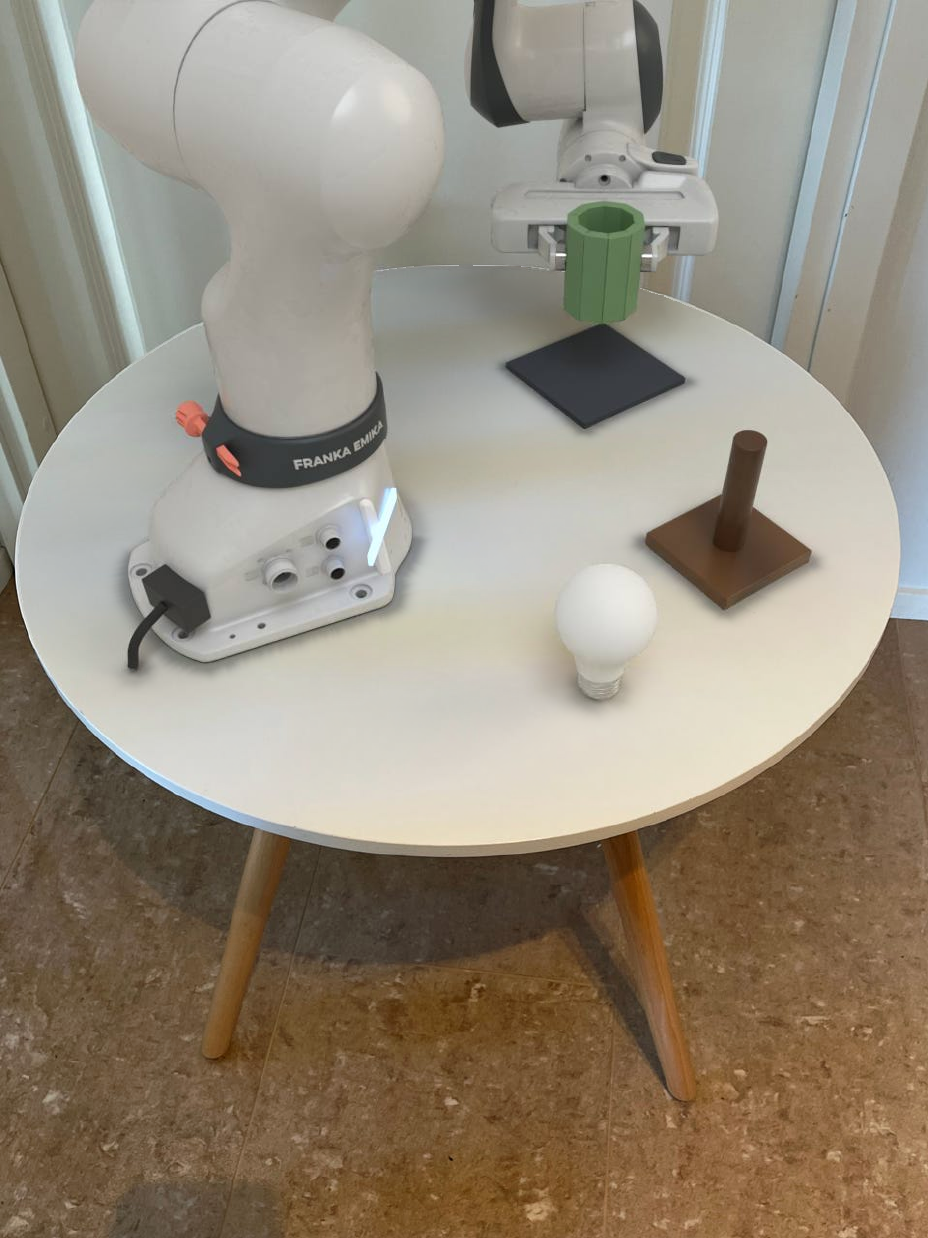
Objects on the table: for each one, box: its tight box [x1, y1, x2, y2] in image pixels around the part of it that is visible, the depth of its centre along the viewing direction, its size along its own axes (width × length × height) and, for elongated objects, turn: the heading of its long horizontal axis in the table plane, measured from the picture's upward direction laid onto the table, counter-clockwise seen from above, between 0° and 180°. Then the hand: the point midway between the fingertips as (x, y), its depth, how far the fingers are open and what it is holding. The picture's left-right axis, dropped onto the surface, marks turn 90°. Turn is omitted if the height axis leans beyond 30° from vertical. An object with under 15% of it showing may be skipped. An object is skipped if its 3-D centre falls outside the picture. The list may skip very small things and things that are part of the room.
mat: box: [505, 323, 686, 429], centre depth 100 cm, size 12×12×1 cm
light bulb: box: [553, 563, 659, 701], centre depth 70 cm, size 7×7×11 cm
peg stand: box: [644, 429, 813, 610], centre depth 79 cm, size 9×9×11 cm
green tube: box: [563, 201, 645, 325], centre depth 92 cm, size 6×7×8 cm
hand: (603, 264), depth 91 cm, fingers closed on green tube, 6 cm apart
